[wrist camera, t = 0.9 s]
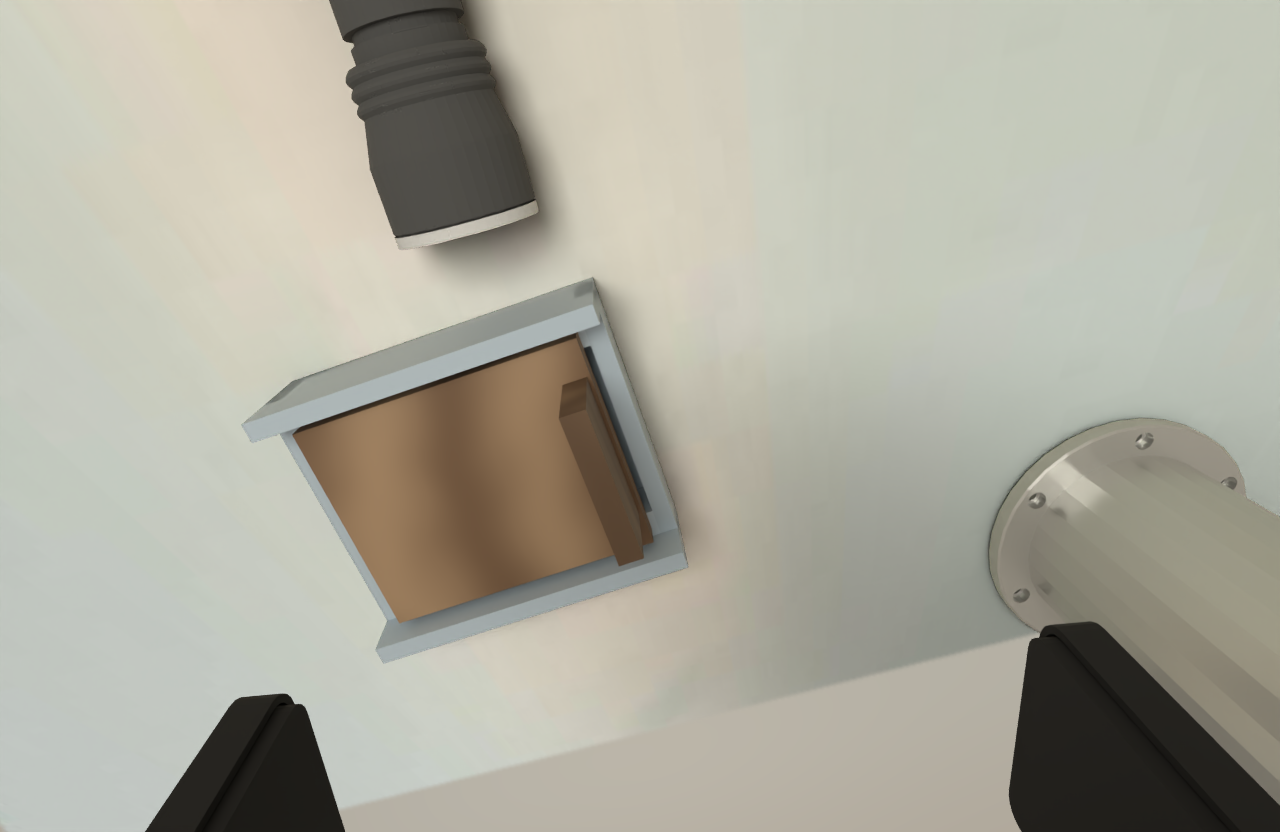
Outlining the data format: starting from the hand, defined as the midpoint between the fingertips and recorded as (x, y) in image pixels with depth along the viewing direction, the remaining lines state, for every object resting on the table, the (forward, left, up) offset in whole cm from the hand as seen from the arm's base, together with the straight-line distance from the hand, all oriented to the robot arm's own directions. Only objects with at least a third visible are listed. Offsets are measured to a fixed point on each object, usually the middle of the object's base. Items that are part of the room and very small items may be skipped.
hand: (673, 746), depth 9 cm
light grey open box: (+2, +8, -24) cm, 25 cm away
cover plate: (+2, +8, -21) cm, 23 cm away
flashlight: (+11, -6, -24) cm, 28 cm away
